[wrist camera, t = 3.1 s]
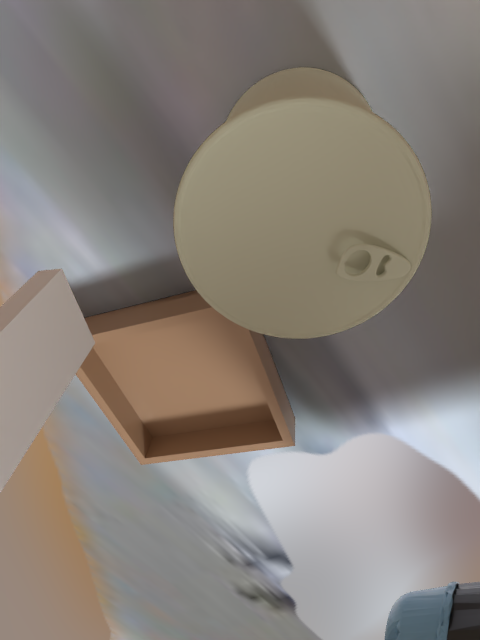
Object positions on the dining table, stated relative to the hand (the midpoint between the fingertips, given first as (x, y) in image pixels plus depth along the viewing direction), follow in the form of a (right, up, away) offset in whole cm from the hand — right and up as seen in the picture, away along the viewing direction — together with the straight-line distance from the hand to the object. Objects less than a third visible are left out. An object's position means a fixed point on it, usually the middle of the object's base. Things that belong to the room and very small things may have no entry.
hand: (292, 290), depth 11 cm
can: (+2, +9, +13) cm, 16 cm away
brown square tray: (-6, -5, +23) cm, 25 cm away
